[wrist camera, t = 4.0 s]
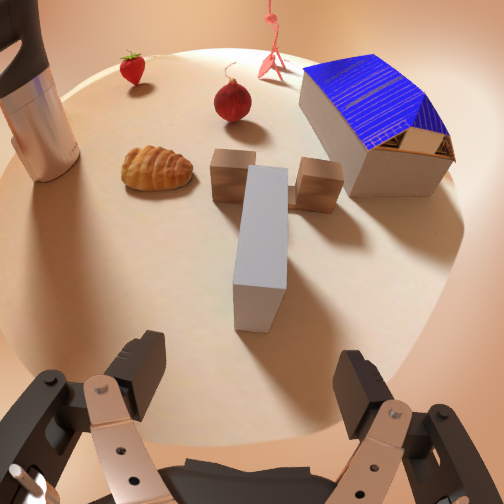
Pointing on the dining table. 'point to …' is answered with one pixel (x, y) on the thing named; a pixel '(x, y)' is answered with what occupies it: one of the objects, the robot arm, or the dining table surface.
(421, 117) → the house
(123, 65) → the strawberry
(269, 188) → the grey notched square slab
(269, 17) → the figurine
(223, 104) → the onion
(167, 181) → the pastry
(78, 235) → the dining table surface
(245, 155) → the walnut blocks
